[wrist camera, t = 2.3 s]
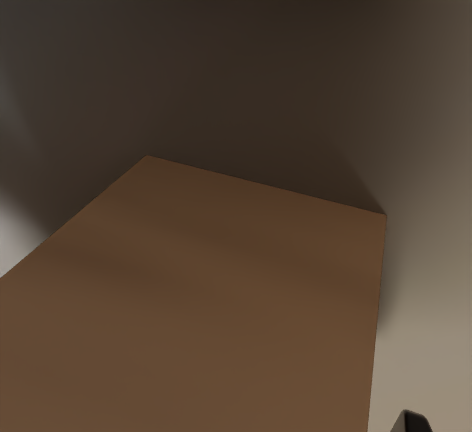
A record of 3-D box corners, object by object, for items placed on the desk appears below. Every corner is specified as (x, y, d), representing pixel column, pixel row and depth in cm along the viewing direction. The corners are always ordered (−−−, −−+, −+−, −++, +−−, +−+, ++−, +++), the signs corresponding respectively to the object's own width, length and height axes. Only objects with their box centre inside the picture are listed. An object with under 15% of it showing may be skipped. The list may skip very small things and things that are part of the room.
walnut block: (314, 418, 12) (252, 728, 7) (153, 359, 13) (9, 599, 9) (387, 213, 8) (352, 598, 3) (148, 153, 9) (-127, 385, 5)
